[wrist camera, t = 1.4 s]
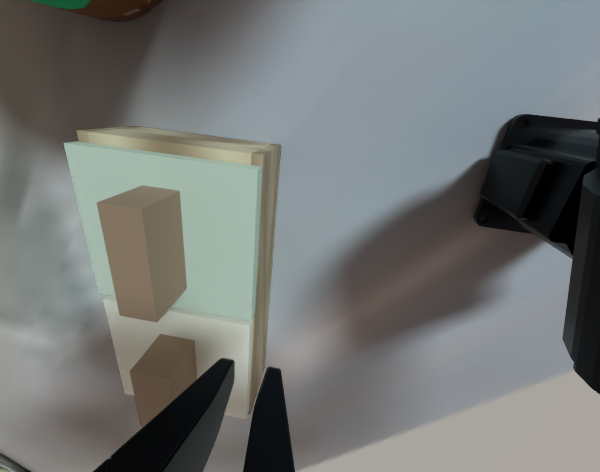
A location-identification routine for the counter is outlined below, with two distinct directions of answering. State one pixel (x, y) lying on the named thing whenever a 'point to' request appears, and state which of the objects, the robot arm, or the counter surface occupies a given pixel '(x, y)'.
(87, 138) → the box
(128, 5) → the food container
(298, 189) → the counter surface
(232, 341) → the lid
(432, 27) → the counter surface
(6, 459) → the salad plate
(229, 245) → the cover
